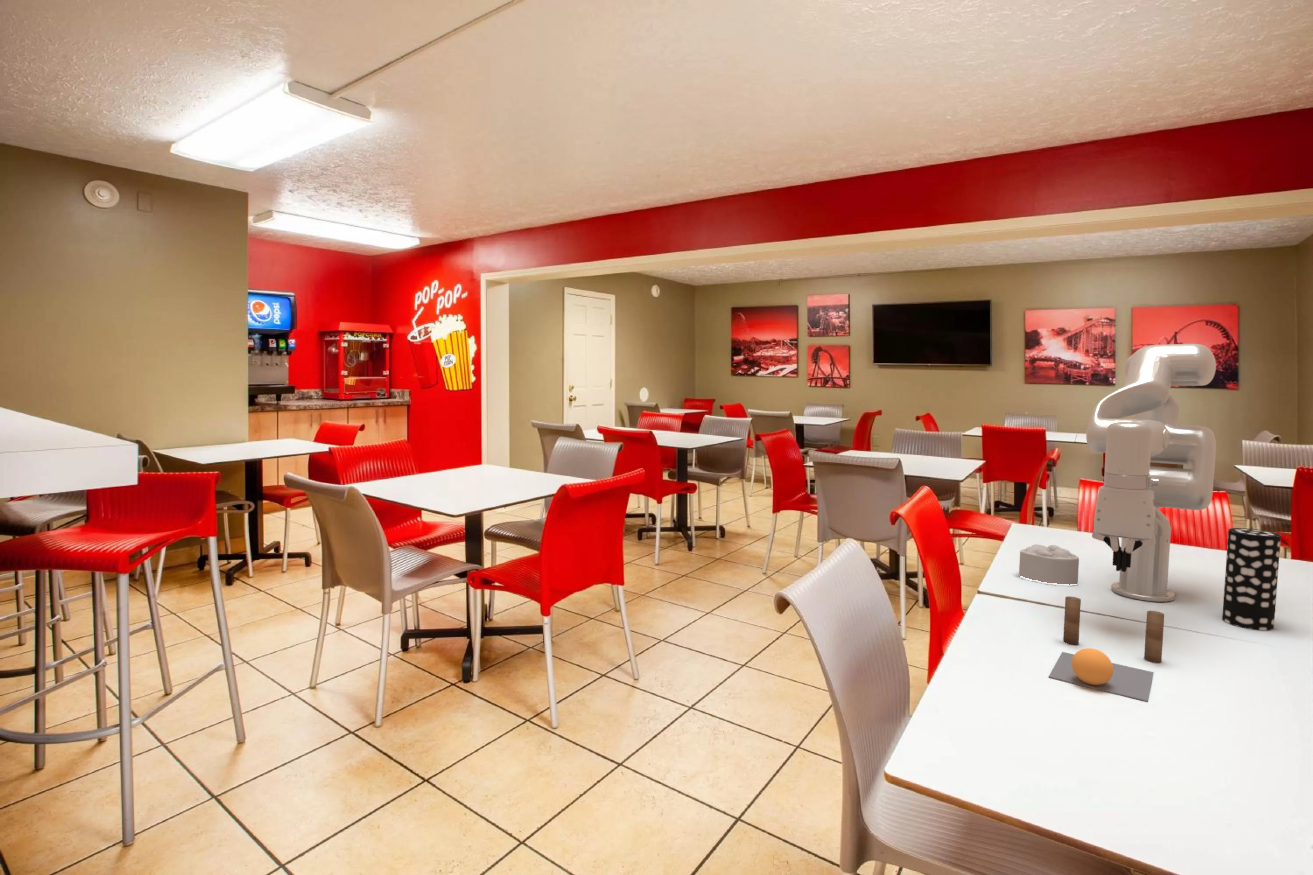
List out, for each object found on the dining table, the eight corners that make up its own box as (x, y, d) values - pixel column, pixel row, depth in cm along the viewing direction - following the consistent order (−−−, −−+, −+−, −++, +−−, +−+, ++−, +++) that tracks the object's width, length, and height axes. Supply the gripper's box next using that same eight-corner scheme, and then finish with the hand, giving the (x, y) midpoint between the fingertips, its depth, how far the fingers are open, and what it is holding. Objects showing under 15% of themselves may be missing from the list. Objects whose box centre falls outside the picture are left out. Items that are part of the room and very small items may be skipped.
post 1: (1064, 638, 133) (1066, 595, 133) (1079, 642, 132) (1081, 598, 131) (1062, 642, 131) (1064, 598, 131) (1077, 646, 130) (1079, 601, 129)
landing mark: (1062, 652, 126) (1062, 651, 126) (1153, 673, 117) (1153, 672, 117) (1048, 677, 116) (1048, 676, 116) (1147, 701, 107) (1147, 700, 107)
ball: (1068, 686, 114) (1074, 662, 118) (1110, 697, 110) (1115, 672, 114) (1068, 660, 112) (1074, 636, 116) (1111, 670, 108) (1116, 646, 112)
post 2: (1144, 655, 125) (1147, 609, 124) (1161, 659, 123) (1164, 612, 123) (1143, 660, 123) (1146, 613, 122) (1161, 664, 121) (1164, 616, 121)
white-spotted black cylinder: (1253, 617, 146) (1259, 528, 144) (1284, 631, 138) (1292, 537, 136) (1212, 615, 147) (1218, 527, 145) (1241, 629, 138) (1248, 536, 137)
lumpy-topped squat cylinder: (1030, 570, 183) (1031, 540, 182) (1083, 581, 173) (1085, 549, 172) (1015, 578, 176) (1016, 546, 175) (1069, 589, 166) (1071, 555, 165)
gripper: (1173, 483, 133) (1167, 572, 134) (1085, 476, 142) (1081, 559, 144) (1171, 488, 127) (1165, 581, 129) (1080, 481, 137) (1076, 567, 138)
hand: (1121, 569), depth 136 cm, fingers closed
